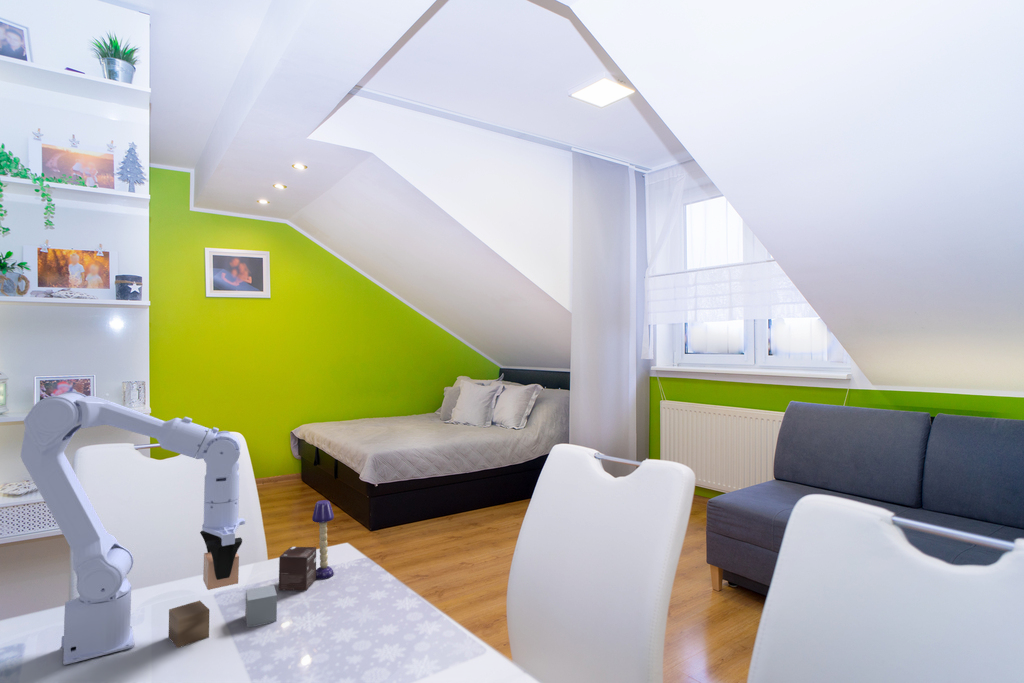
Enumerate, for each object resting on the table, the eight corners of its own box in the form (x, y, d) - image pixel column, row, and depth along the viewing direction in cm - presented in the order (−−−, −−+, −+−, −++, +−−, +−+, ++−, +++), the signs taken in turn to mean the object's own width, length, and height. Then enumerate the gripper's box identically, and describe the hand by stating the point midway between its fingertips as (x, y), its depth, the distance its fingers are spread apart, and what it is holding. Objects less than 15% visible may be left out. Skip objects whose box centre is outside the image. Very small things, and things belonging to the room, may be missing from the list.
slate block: (247, 627, 104) (247, 600, 104) (245, 616, 108) (245, 590, 108) (276, 621, 106) (276, 595, 106) (273, 610, 110) (273, 584, 111)
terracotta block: (207, 590, 100) (208, 561, 100) (203, 580, 104) (203, 553, 104) (238, 583, 103) (238, 556, 103) (232, 574, 107) (233, 547, 107)
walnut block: (177, 648, 96) (178, 619, 96) (168, 637, 100) (169, 609, 100) (208, 637, 100) (209, 609, 100) (199, 627, 103) (199, 600, 103)
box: (306, 591, 119) (306, 557, 119) (277, 591, 119) (278, 556, 119) (316, 579, 125) (317, 546, 125) (289, 579, 125) (290, 546, 125)
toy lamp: (313, 581, 124) (314, 505, 124) (309, 573, 128) (310, 500, 128) (335, 577, 126) (336, 502, 126) (331, 569, 130) (332, 497, 130)
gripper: (254, 505, 100) (252, 581, 100) (237, 487, 112) (235, 555, 112) (209, 511, 96) (208, 591, 96) (196, 492, 108) (195, 563, 108)
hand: (220, 572), depth 104 cm, fingers closed on terracotta block, 5 cm apart
